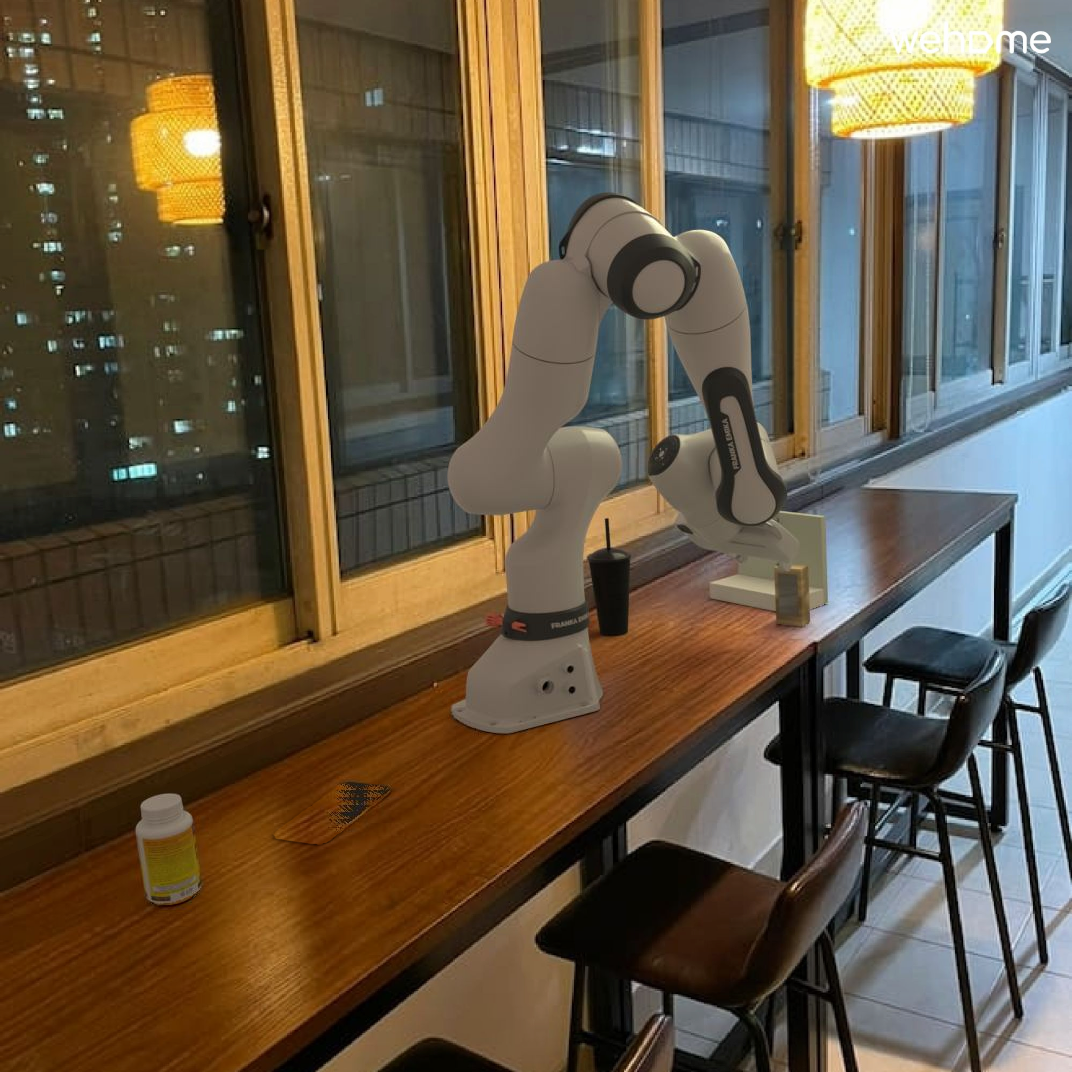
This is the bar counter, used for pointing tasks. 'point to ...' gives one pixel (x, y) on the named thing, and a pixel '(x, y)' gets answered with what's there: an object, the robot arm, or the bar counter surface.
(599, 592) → the drinking cup
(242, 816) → the bar counter surface
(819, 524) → the cream l-shaped bookend
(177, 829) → the supplement bottle
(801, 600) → the small box
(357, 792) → the phone
